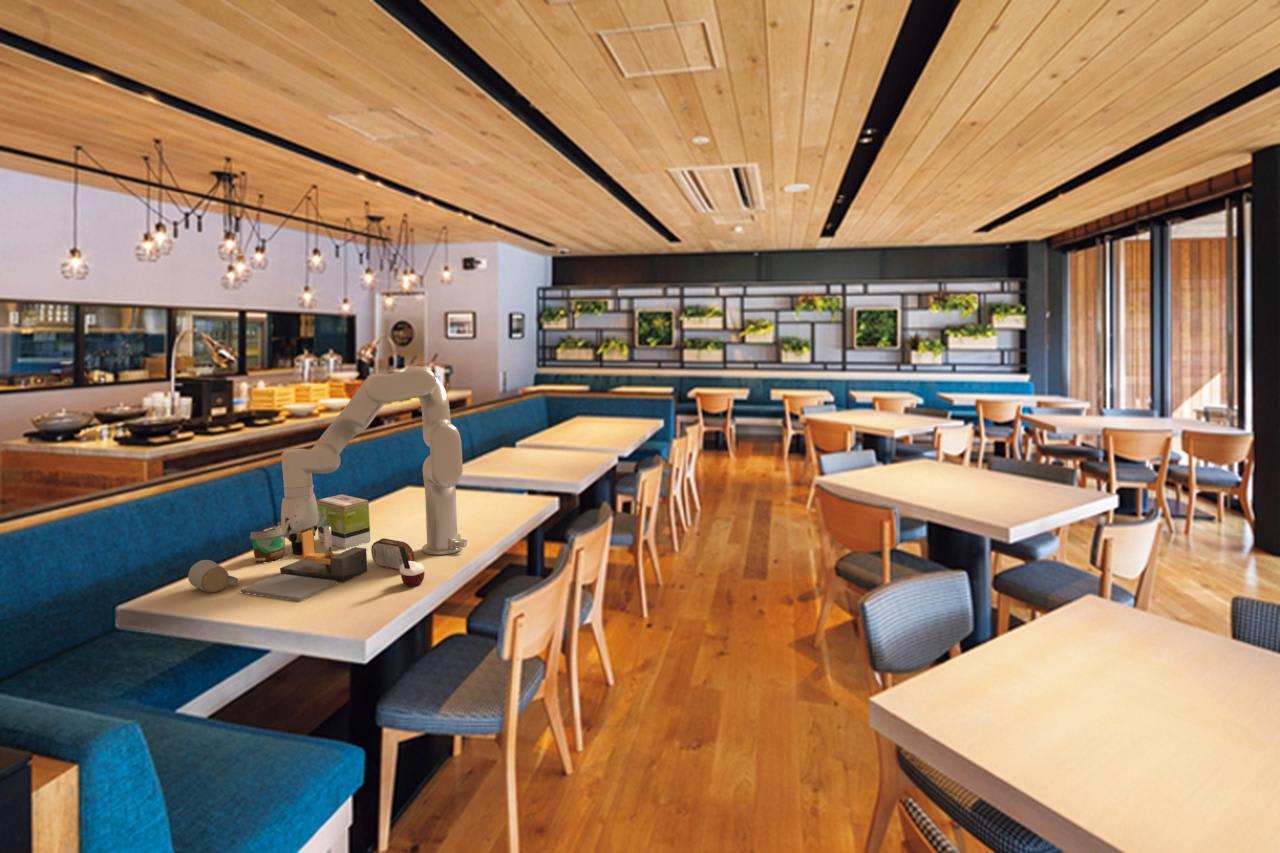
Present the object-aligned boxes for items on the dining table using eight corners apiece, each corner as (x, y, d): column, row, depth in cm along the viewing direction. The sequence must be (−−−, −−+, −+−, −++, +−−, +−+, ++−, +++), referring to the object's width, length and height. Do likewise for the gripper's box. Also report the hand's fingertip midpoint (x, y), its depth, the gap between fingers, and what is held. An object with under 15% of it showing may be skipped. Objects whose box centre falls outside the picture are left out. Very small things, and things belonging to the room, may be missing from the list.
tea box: (317, 542, 228) (314, 499, 226) (344, 535, 237) (341, 493, 235) (345, 549, 220) (342, 505, 218) (371, 541, 229) (369, 499, 227)
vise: (367, 571, 200) (365, 525, 198) (343, 583, 190) (340, 534, 188) (306, 563, 206) (304, 519, 204) (280, 574, 197) (277, 527, 195)
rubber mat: (336, 584, 189) (336, 580, 189) (300, 601, 177) (300, 597, 177) (279, 576, 195) (278, 573, 195) (240, 592, 183) (240, 589, 183)
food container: (269, 565, 204) (267, 533, 203) (251, 564, 206) (249, 532, 204) (297, 553, 216) (295, 522, 215) (280, 552, 218) (278, 521, 216)
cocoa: (418, 579, 195) (417, 537, 194) (432, 582, 191) (431, 540, 190) (389, 587, 187) (388, 544, 186) (404, 591, 183) (403, 547, 182)
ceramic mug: (202, 597, 180) (200, 569, 179) (188, 590, 184) (186, 563, 183) (244, 586, 188) (242, 559, 187) (229, 580, 193) (228, 553, 192)
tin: (415, 570, 201) (414, 542, 200) (408, 573, 198) (406, 545, 197) (378, 562, 208) (376, 536, 206) (370, 566, 205) (368, 538, 204)
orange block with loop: (346, 558, 199) (344, 531, 198) (331, 564, 194) (329, 537, 192) (306, 553, 204) (304, 527, 202) (290, 560, 198) (288, 533, 197)
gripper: (310, 484, 206) (314, 542, 209) (265, 497, 191) (270, 560, 193) (330, 486, 204) (334, 544, 207) (286, 498, 188) (291, 562, 191)
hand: (303, 551), depth 200 cm, fingers closed on orange block with loop, 4 cm apart
